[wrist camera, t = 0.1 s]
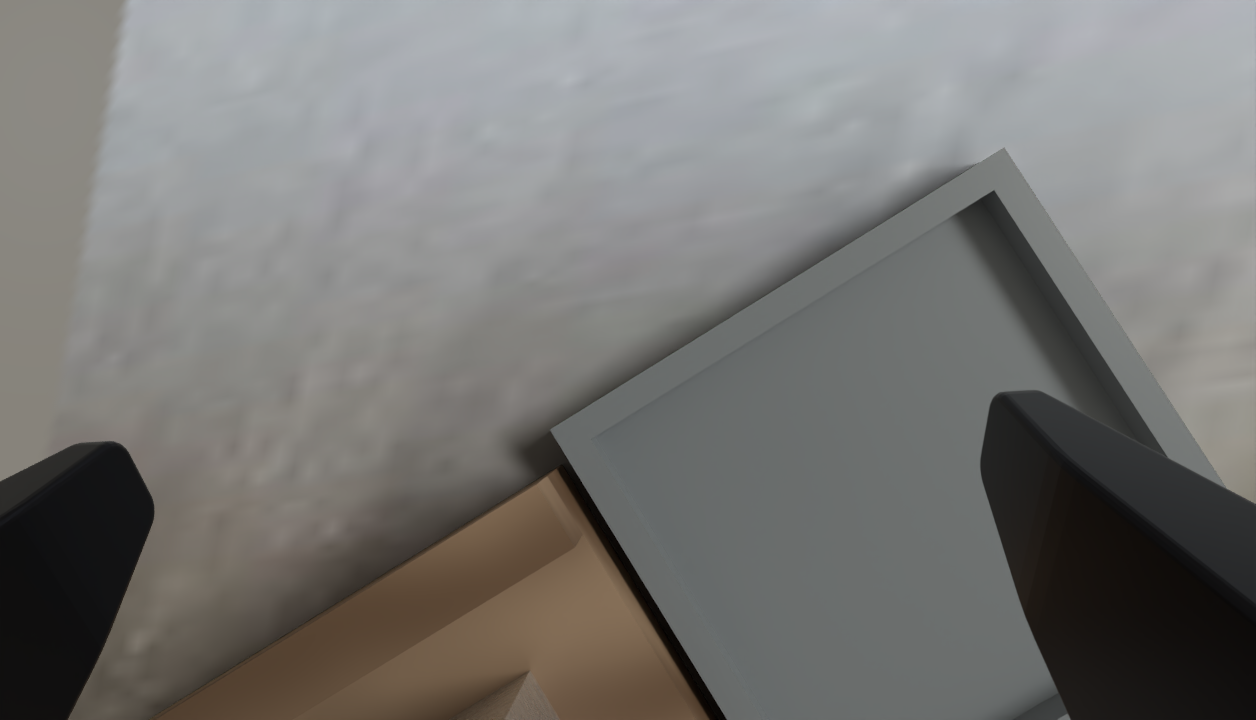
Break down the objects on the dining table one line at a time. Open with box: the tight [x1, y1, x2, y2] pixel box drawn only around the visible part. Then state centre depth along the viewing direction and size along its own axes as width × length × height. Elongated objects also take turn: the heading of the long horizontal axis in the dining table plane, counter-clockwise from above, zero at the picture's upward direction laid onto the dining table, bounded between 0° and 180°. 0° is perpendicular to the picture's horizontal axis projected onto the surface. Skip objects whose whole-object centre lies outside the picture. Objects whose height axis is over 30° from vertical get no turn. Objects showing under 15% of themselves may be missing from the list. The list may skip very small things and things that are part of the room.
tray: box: [550, 148, 1227, 720], centre depth 22 cm, size 14×14×2 cm
